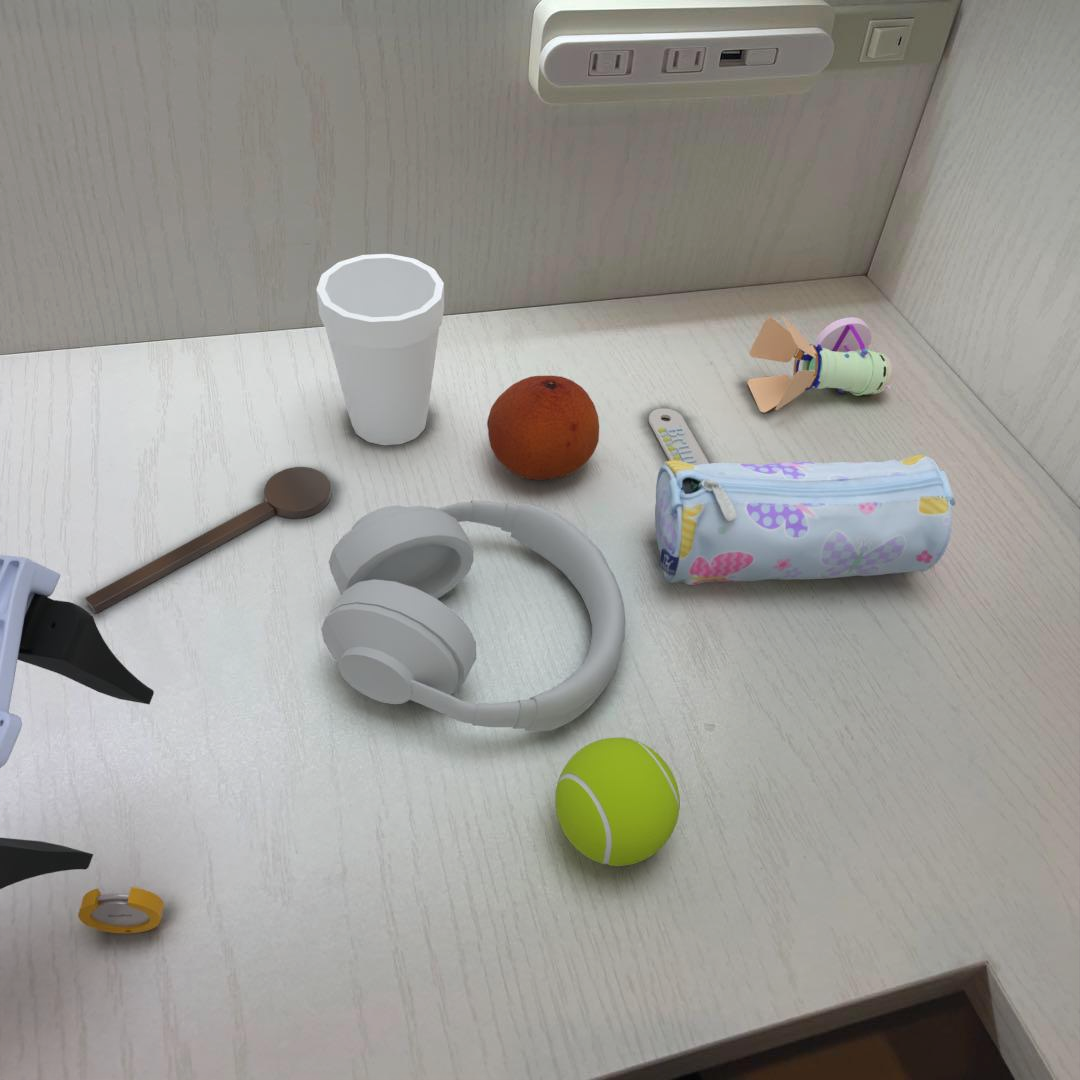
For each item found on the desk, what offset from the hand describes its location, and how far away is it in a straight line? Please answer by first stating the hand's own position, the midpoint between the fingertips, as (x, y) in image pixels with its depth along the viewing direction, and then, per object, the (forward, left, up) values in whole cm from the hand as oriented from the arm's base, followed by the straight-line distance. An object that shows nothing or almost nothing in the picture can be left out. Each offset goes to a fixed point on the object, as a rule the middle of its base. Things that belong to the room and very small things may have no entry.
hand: (107, 773), depth 46 cm
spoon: (+16, +20, -11) cm, 28 cm away
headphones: (+25, +1, -12) cm, 27 cm away
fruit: (+41, +11, -12) cm, 44 cm away
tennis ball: (+21, -15, -12) cm, 28 cm away
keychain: (+51, +4, -12) cm, 52 cm away
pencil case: (+47, -9, -12) cm, 49 cm away
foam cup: (+35, +23, -12) cm, 43 cm away
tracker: (-2, -1, -12) cm, 12 cm away
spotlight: (+67, +1, -12) cm, 68 cm away
